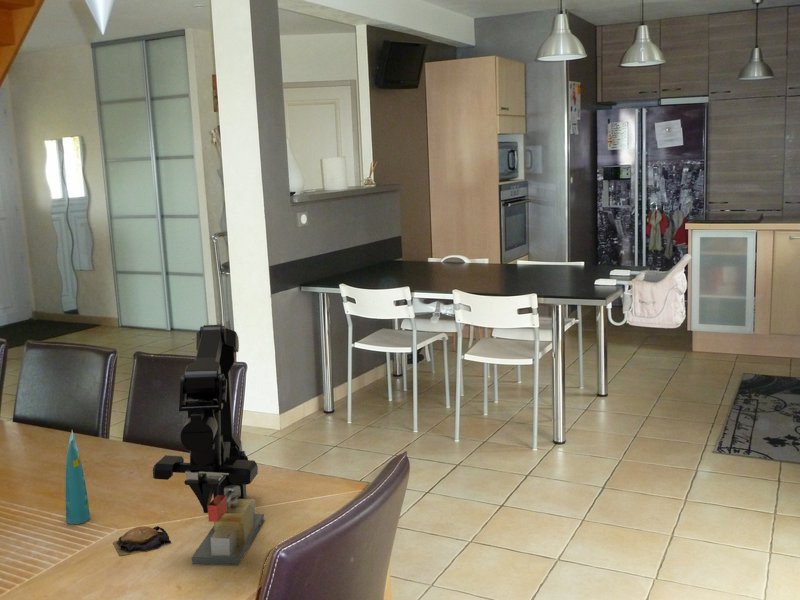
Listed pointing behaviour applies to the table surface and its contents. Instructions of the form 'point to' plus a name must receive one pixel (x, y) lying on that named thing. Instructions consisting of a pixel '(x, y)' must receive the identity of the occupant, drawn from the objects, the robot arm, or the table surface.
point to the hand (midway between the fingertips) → (206, 512)
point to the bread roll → (141, 540)
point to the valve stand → (230, 535)
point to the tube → (75, 486)
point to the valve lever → (222, 502)
